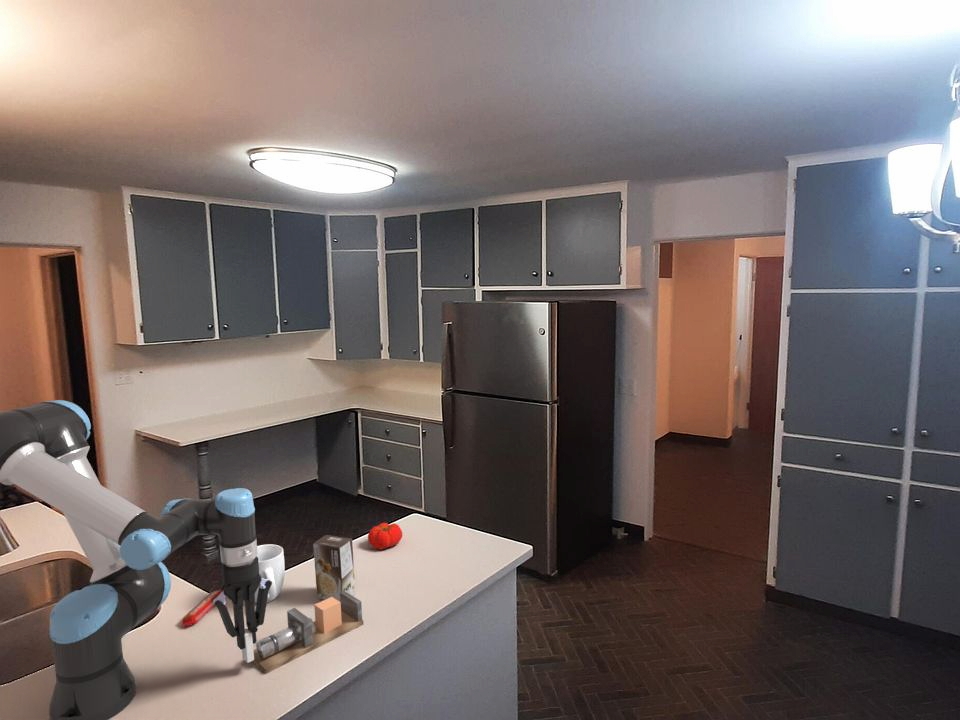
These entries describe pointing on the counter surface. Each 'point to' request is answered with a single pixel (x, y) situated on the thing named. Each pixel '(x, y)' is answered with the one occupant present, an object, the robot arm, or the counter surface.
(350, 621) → the rail
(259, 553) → the mug
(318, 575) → the coffee box
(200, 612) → the candy bar
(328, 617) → the block
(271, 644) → the shaft
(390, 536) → the tomato
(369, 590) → the counter surface
